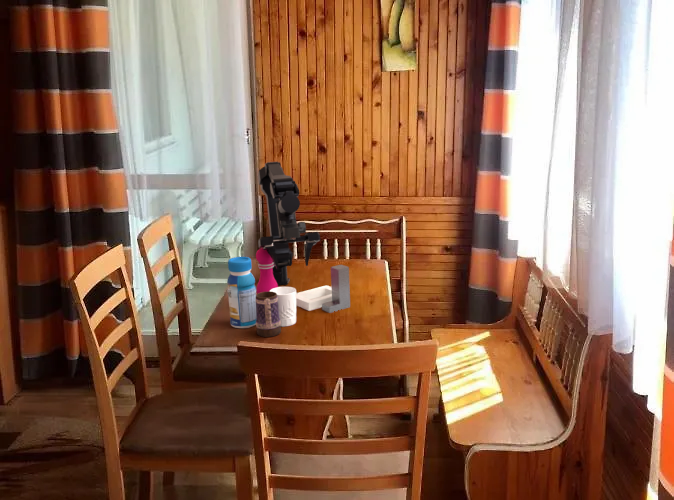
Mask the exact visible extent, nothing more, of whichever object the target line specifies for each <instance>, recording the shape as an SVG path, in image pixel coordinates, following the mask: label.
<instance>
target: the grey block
mask: <svg viewBox="0 0 674 500" xmlns="http://www.w3.org/2000/svg"><path fill="white" fill-rule="evenodd" d="M330 279H331V280H330V282H331V286H330V287H332V301H330V302H326V303H323V304H322V307H321V311H324V312H326V313H329V314H332V313H335V312H339V311H341V309H342V310H345V309H348V308H351V293H350V292H351V291H350V267H349V266H347V265H343V264H338V265H337V264H336V265H335V266H334V265H333V266H330ZM338 310H339V311H338ZM334 311H335V312H334Z"/></svg>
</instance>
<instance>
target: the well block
mask: <svg viewBox="0 0 674 500" xmlns="http://www.w3.org/2000/svg"><path fill="white" fill-rule="evenodd" d="M330 301H332V286H329V285H323V286H319V287H315V288H312V289H308V290H304V291H300V292H296V307H298V308H302V309H304V310H306V311H309V312H310V311H314V310H317V309H322V304H323V303H326V302H330Z"/></svg>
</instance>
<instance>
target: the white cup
mask: <svg viewBox="0 0 674 500" xmlns="http://www.w3.org/2000/svg"><path fill="white" fill-rule="evenodd" d="M270 292H275V293H276V294H277V296H278V308H279V317H280V320H281V325H280V326H281V327H290V326H293V325H295V324H296V323H297V306H296V293H297V289H296V288H295V287H292V286H278V287H277V288H274V289H271V290H270Z"/></svg>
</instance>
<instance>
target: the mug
mask: <svg viewBox="0 0 674 500" xmlns="http://www.w3.org/2000/svg"><path fill="white" fill-rule="evenodd" d="M280 325H281V320H280V317H279V308H278V296H277V294H276V293H275V292H270V291H267V292H260V293H258V294H257V293H256V325H255V326H256V334H257V336H259V337H263V338H271V337H275V336H278V335H280V334H281V332H282V328H281V327H282V326H280Z"/></svg>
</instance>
